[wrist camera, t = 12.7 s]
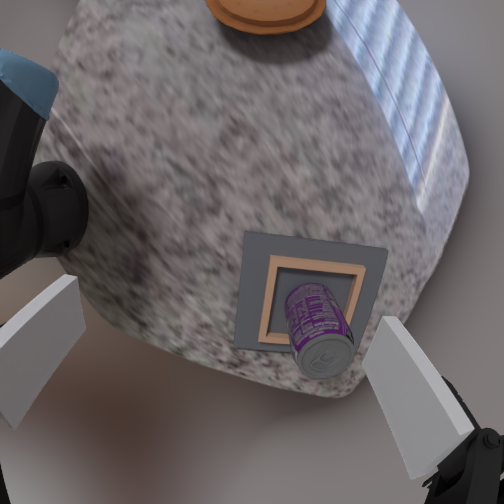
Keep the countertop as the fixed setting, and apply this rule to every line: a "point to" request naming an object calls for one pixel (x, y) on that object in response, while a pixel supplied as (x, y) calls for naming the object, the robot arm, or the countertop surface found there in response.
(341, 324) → the beverage can
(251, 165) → the countertop surface
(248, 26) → the pie
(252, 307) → the dock plate
